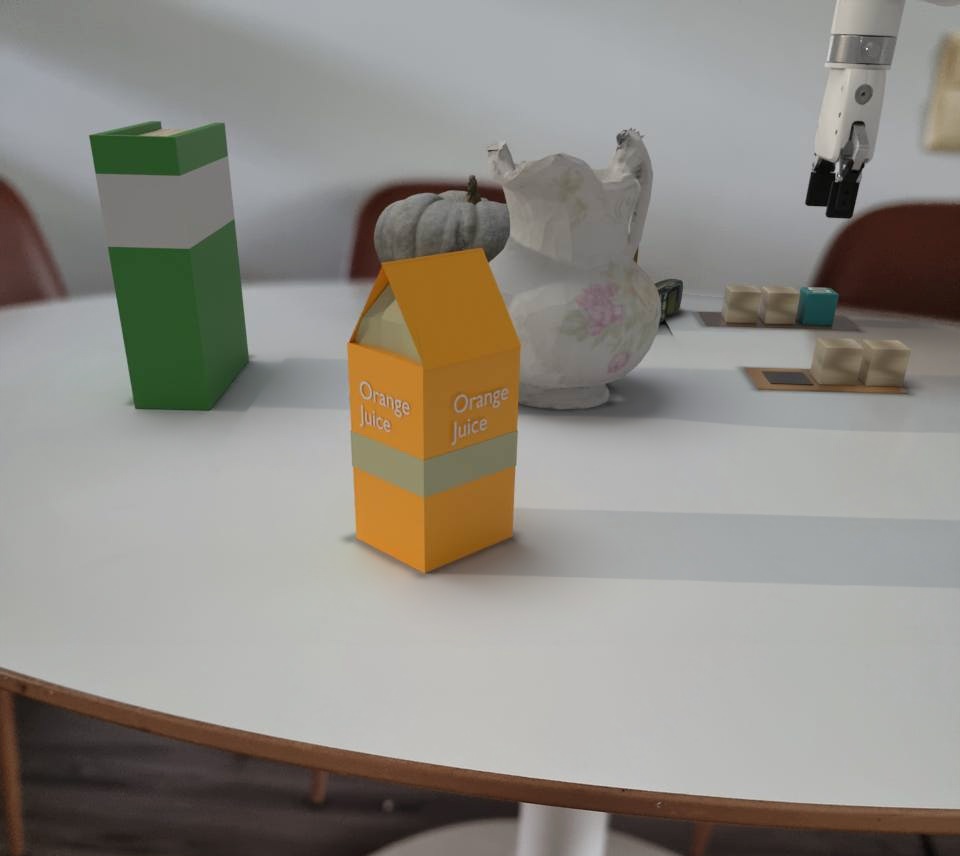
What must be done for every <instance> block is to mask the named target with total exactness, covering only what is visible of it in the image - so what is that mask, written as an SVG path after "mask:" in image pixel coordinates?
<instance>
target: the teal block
mask: <svg viewBox="0 0 960 856" xmlns="http://www.w3.org/2000/svg"><path fill="white" fill-rule="evenodd" d="M799 288H800V290H799V293H800V298H799V304H798V309H797V314H796V319H797V320H798V321H799V322H800V323H801V324H802V325H827V326H832V325H833V321H834V316H836V310H837V307H838V301H839V297H840V294H839V293H837V292H836V291H835V290H834V289H832V288H831V287H809V286H807V287H806V286H805V287H804V286H801V287H799Z"/></svg>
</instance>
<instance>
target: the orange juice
mask: <svg viewBox="0 0 960 856" xmlns="http://www.w3.org/2000/svg"><path fill="white" fill-rule="evenodd" d="M381 264H382V266H381V268H380V270H379V272H378V275H377V277H376V279H375V281H374V284H373V286H372V288H371V291H370V293H369V294H368V297H367V300H366V301H365V305H364V306H363V309H362V311H361V313H360V315H359V318H358V320H357V323H356V325H355V326H354V329H353V332H352V334H351V336H350V338H349V341H347V342H346V347H347V348H346V349H347V351H346V352H347V370H348V371H347V372H348V373H347V374H348V390H349V392H348V393H349V413H350V414H349V415H350V432H349V433H350V449H351V450H350V451H351V466H352V476H353V495H354V496H353V497H354V514H355V515H354V516H355V537H356V539H358V540H359V541H361V542H363V543H366V544H367V545H369V546H371V547H373V548H375V549H377V550H378V551H381V552H382V553H385V554H387V555H389V556H390V557H392V558H395V559H396V560H398V561H400V562H402V563H404V564H406V565H408V566H410V567H412V568H414V569H415V570H418V571H420V572H422V573H423V574H426V573H430V572H431V571H434V570H435V569H438V568H441V567H443V566H445V565H448V564H451V563H452V562H455V561H457V560H460V559H462V558H465V557H467V556H469V555H472V554H475V553H477V552H479V551H481V550H483V549H486V548H489V547H491V546H493V545H496V544H498V543H501V542H503V541H506V540H509V539H511V538H512V537H513V535H514V534H513V533H514V532H513V531H514V510H515V509H514V508H515V489H516V488H515V485H516V467H517V461H518V460H517V457H518V438H519V437H518V436H519V435H518V434H519V430H518V419H519V418H518V416H519V403H518V398H519V375H520V352H521V347H522V346H521V343H520V341H519V338H518V336H517V333H516V331H515V328H514V326H513V323H512V321H511V318H510V316H509V313H508V311H507V308H506V306H505V303H504V301H503V298H502V296H501V293H500V291H499V288H498V286H497V283H496V281H495V278H494V276H493V273H492V271H491V268H490V266H489V263H488V261H487V258H486V256H485V253H484V251H483V248H477V249H470V250H463V251H457V252H450V253H444V254H437V255H430V256H424V257H417V258H410V259H404V260H397V261H391V262H384V263H380V265H381Z"/></svg>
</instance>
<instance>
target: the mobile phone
mask: <svg viewBox="0 0 960 856" xmlns="http://www.w3.org/2000/svg"><path fill="white" fill-rule="evenodd" d="M654 284H655V286H656V288H657V290H658V293H659V297H660V301H661V316H660V321H659V325H660V324H662V323H664V322H666V319H669V318H672V317H674V316H676V315H677V314H678V313H679V311H680V308H681V304H682V298H683V291H684V283H683V280H681V279H678V278H667V279H663V280H660V281H657V282H654Z"/></svg>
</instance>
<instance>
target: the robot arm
mask: <svg viewBox="0 0 960 856" xmlns="http://www.w3.org/2000/svg"><path fill="white" fill-rule="evenodd" d="M918 1H919V2H925V3H928V4H932V5H936V6H940V7H949V8H950V7H956V6H958V5H960V0H918ZM905 4H906V0H836V3H835V8H834V13H833V18H832V23H831V29H830V34H829V40H828V44H827V49H826V50H827V51H826V54H825V59H824V66H823V68H827V69H828V68H829V69H830V71H829V75H828V78H827V83H826V85H825V90H824V94H823V99H822V103H821V107H820V112H819V117H818V121H817V126H816V133H815V139H814V146H813V150H814V151H813V152H814V153H813V155H814V158H813V162H812V164H811V171H810V175H809V180H808V185H807V191H806V195H805V202H804V205H806V206H807V207H819V208H826V210H825V217H826V218H828V219H843V220H844V219H846V220H847V219H848V220H849V219H850V220H851V219H852V218H853V216H854V212H855V209H856V208H855V207H856V203H857V198H858V194H859V189H860V184H861V182H862V178H863V170H864V168H865V167H866V164H869V163H870V162H872V160H873V158H874V154H875V150H876V144H877V138H878V133H879V129H880V121H881V117H882V116H881V115H882V110H883V105H884V98H885V88H886V81H887V71H891V69H892V63H893V59H894V54H895V51H896V46H897V41H898V36H899V32H900V27H901V23H902V18H903V13H904V9H905Z"/></svg>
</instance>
